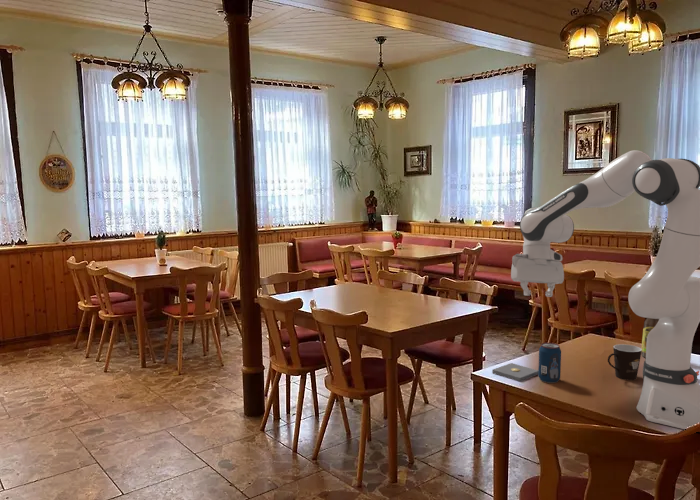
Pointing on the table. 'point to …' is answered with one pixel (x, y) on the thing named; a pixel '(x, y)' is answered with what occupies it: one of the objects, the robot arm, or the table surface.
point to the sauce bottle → (647, 332)
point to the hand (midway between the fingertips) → (538, 296)
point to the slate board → (515, 372)
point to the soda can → (549, 362)
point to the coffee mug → (626, 361)
